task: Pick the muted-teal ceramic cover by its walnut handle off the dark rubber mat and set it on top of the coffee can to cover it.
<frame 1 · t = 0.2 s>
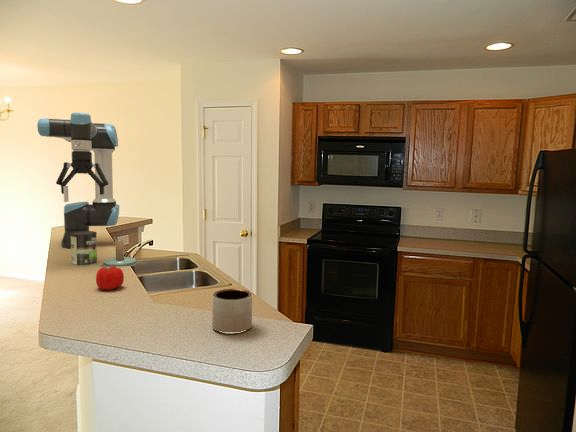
hand: (83, 202, 176), 28 cm above the worktop, fingers open, 13 cm apart
mat: (120, 264, 185), on the worktop
coffee can: (84, 264, 183), on the worktop
planter: (232, 328, 116), on the worktop
cover: (120, 262, 185), point 1 cm above the worktop, touching mat
tomato: (109, 288, 149), on the worktop
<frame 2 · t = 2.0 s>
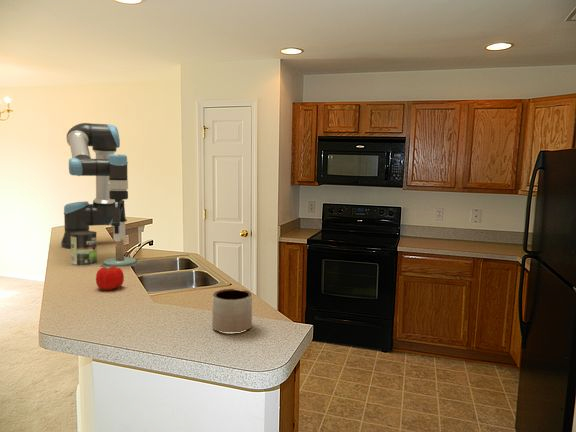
hand: (119, 238, 184), 11 cm above the worktop, fingers open, 13 cm apart
nothing on the worktop moved.
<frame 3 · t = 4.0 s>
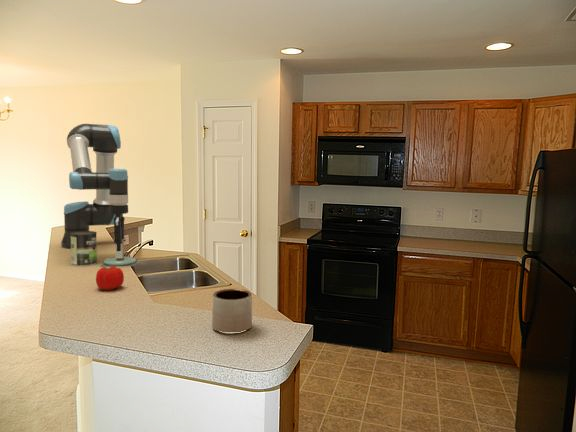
hand: (119, 257, 185), 3 cm above the worktop, fingers closed on cover, 3 cm apart
cover: (120, 262, 185), point 1 cm above the worktop, touching gripper
everything else where it was.
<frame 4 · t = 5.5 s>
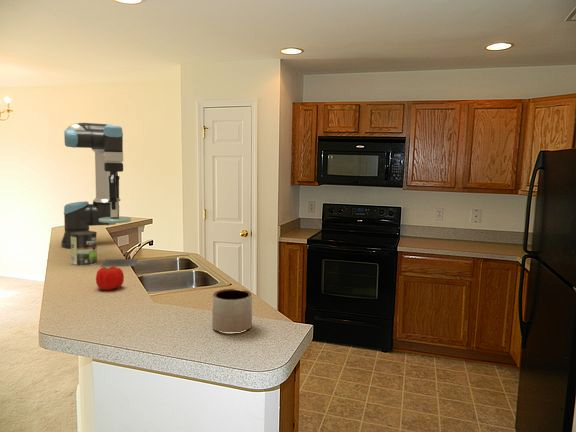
hand: (114, 216, 183), 21 cm above the worktop, fingers closed on cover, 3 cm apart
cover: (115, 221, 183), point 19 cm above the worktop, touching gripper
everything else where it was.
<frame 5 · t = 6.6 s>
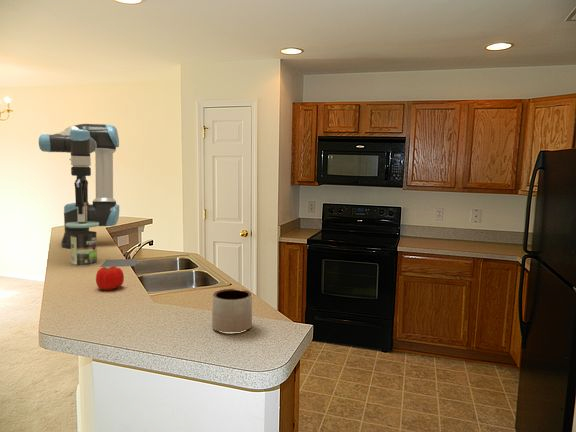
hand: (82, 221, 180), 19 cm above the worktop, fingers closed on cover, 3 cm apart
cover: (82, 225, 180), point 17 cm above the worktop, touching gripper
everything else where it was.
when the fingers open (18 cm above the worktop, at t = 7.3 s): cover drops 2 cm, resting on coffee can.
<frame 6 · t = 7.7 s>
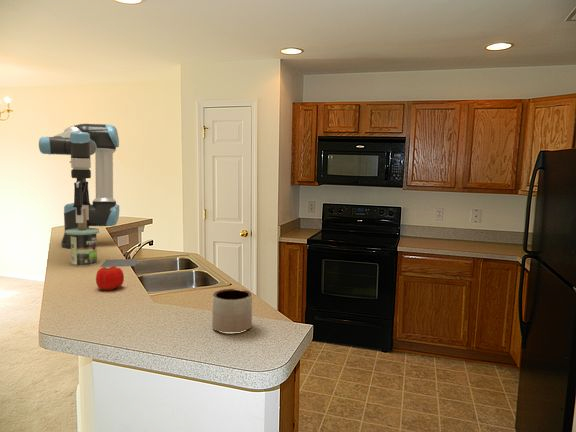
hand: (82, 221, 180), 19 cm above the worktop, fingers open, 9 cm apart
coffee can: (84, 264, 183), on the worktop, touching cover
cover: (82, 232, 181), point 14 cm above the worktop, touching coffee can
everything else where it was.
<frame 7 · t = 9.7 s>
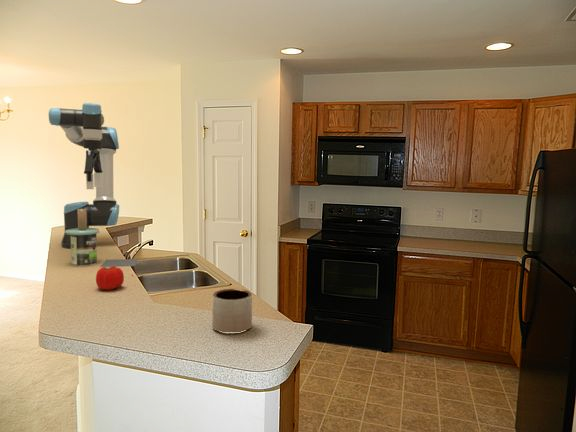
hand: (94, 188, 186), 33 cm above the worktop, fingers open, 13 cm apart
nothing on the worktop moved.
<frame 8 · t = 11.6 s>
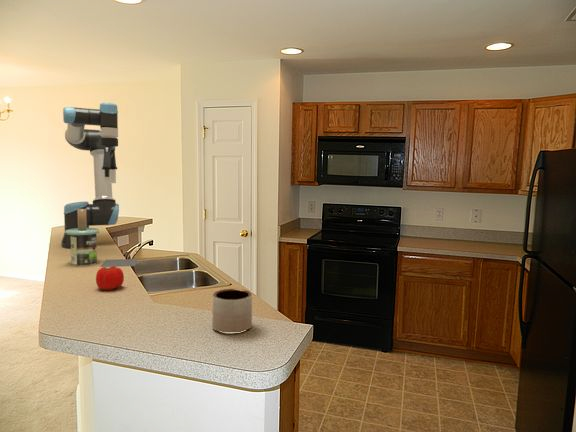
hand: (110, 183, 195), 35 cm above the worktop, fingers open, 13 cm apart
nothing on the worktop moved.
at the end: cover inside the target area on the coffee can (0.4 cm from its centre), point 14.3 cm above the coffee can's base; cover tilted 0°; the gripper is holding nothing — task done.
